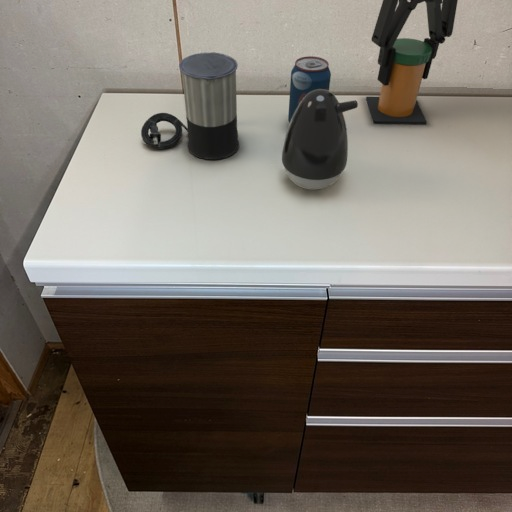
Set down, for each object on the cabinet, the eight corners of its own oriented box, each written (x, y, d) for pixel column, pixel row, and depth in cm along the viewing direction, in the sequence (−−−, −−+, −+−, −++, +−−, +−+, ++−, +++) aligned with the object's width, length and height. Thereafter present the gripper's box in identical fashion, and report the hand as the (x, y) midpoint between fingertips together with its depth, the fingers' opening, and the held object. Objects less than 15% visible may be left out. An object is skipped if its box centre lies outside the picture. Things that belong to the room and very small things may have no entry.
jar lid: (413, 45, 89) (416, 36, 88) (438, 62, 84) (441, 51, 83) (377, 51, 88) (379, 41, 86) (400, 68, 82) (402, 57, 81)
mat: (414, 99, 97) (415, 97, 96) (426, 124, 90) (426, 121, 89) (366, 99, 97) (366, 96, 97) (373, 123, 90) (374, 120, 90)
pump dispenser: (338, 204, 73) (353, 113, 62) (273, 192, 75) (277, 102, 64) (349, 168, 79) (364, 80, 69) (289, 157, 82) (294, 71, 71)
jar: (401, 97, 96) (414, 39, 88) (420, 113, 92) (437, 54, 83) (370, 103, 95) (382, 44, 86) (389, 119, 90) (402, 59, 82)
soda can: (300, 139, 86) (306, 74, 77) (280, 122, 90) (284, 59, 82) (331, 129, 88) (340, 66, 80) (311, 114, 92) (317, 51, 84)
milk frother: (248, 153, 82) (247, 69, 72) (161, 176, 77) (147, 89, 67) (216, 116, 91) (212, 37, 81) (137, 135, 86) (121, 53, 76)
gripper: (475, -74, 78) (436, 63, 94) (364, -66, 73) (344, 78, 89) (506, -65, 73) (460, 79, 89) (390, -55, 68) (363, 96, 84)
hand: (402, 79), depth 89 cm, fingers closed on jar lid, 8 cm apart
